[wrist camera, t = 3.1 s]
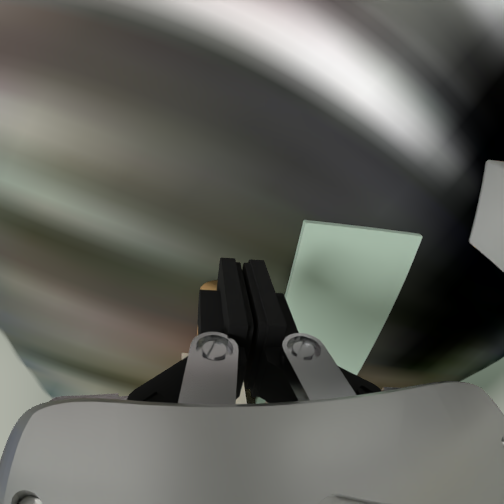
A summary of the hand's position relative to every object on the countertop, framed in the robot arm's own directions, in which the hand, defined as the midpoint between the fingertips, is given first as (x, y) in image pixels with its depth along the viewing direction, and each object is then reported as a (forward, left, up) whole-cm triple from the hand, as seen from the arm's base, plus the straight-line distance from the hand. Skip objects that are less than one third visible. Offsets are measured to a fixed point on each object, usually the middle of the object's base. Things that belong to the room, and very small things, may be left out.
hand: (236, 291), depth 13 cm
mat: (+8, +9, -7) cm, 14 cm away
